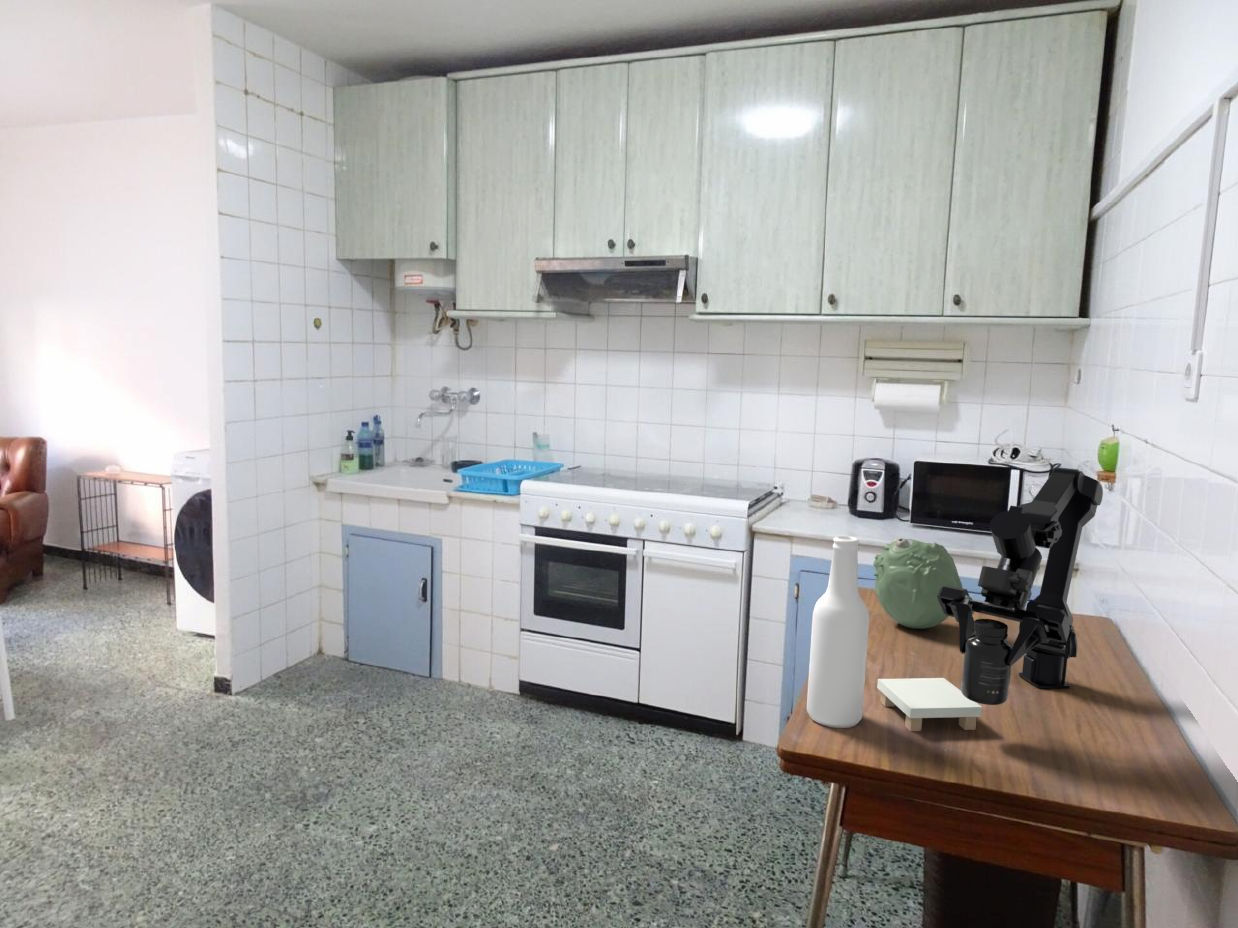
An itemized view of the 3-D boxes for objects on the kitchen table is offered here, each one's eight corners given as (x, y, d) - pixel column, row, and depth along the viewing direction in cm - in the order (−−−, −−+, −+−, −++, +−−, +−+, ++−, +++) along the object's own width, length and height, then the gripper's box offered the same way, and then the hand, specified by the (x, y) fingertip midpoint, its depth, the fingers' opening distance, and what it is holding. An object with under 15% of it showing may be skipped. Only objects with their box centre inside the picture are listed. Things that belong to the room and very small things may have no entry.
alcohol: (840, 703, 139) (852, 531, 136) (873, 725, 131) (887, 542, 128) (795, 709, 136) (807, 533, 133) (826, 732, 128) (839, 545, 124)
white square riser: (941, 699, 142) (943, 677, 142) (979, 730, 131) (982, 706, 130) (876, 701, 141) (877, 678, 140) (908, 732, 129) (910, 708, 129)
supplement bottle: (953, 686, 131) (960, 614, 130) (997, 689, 131) (1004, 617, 129) (969, 705, 124) (976, 629, 123) (1015, 707, 124) (1023, 631, 122)
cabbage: (958, 644, 172) (966, 551, 169) (865, 630, 179) (871, 540, 177) (958, 623, 186) (966, 537, 184) (872, 611, 193) (879, 528, 191)
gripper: (946, 536, 134) (912, 616, 127) (1072, 558, 121) (1042, 647, 114) (960, 574, 140) (929, 652, 134) (1081, 598, 128) (1053, 685, 121)
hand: (984, 658), depth 126 cm, fingers closed on supplement bottle, 7 cm apart
